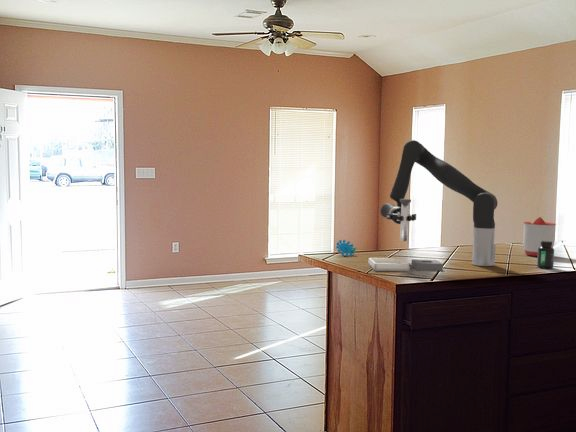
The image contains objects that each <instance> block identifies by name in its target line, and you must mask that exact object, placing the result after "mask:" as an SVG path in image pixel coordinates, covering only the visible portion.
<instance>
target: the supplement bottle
mask: <svg viewBox="0 0 576 432" xmlns="http://www.w3.org/2000/svg"><path fill="white" fill-rule="evenodd" d="M540 245H541V247H539V248H538V256H536V258H537V262H536V263H537V264H536V266H537V268H538V267H539V269H545V270H551V269H553V268H554V265H555V264H554V262H555V260H554V259H555V249H554V247H553V248H552V242H551V241H541V244H540Z"/></svg>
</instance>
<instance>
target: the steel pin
mask: <svg viewBox="0 0 576 432" xmlns="http://www.w3.org/2000/svg"><path fill="white" fill-rule="evenodd" d="M400 202H402V203H401V216H402V221H401V224H400V230H399V241H400V242H408V235H409V233H408V232H409V231H408V230H409V221H408V214H410V213H409V209H410V203H412V199H410V198H409V199H408V198H404V199H400Z"/></svg>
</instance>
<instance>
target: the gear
mask: <svg viewBox="0 0 576 432" xmlns="http://www.w3.org/2000/svg"><path fill="white" fill-rule="evenodd" d="M350 243H351V242H350V241H349V240H348V241H347V240H346V239H343V240H342V239H341V240H339V241H337V242H336V244H335V245H336V246H335V249H337V252H338V253H340V254H341V256H344V255H345V257H352V256H353V255H355V253H356V252H355V251H357V250H358V247H354V244H353V243H351V244H350Z"/></svg>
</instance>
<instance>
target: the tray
mask: <svg viewBox="0 0 576 432" xmlns="http://www.w3.org/2000/svg"><path fill="white" fill-rule="evenodd" d="M367 259H368V262H367V265H368V266H369V267H370V268H371V269H372V270H373V271H376V272H410V271H411V264H410V263H408V262H407V261H406V260H405V259H403V258H400V257H398V258H395V257H391V258H390V257H368V258H367Z"/></svg>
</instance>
